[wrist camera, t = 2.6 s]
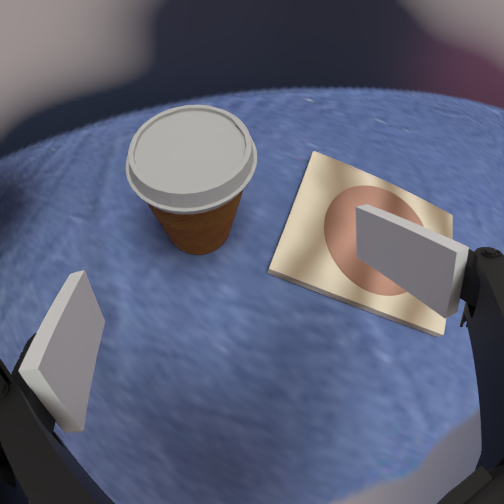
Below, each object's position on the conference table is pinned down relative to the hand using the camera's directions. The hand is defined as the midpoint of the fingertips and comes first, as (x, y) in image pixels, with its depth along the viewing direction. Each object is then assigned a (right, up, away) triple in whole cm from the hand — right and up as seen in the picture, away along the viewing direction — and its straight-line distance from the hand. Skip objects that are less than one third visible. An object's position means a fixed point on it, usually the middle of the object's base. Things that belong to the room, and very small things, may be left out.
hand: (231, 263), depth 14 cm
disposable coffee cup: (-4, +3, +17) cm, 18 cm away
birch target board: (+14, +2, +18) cm, 23 cm away
